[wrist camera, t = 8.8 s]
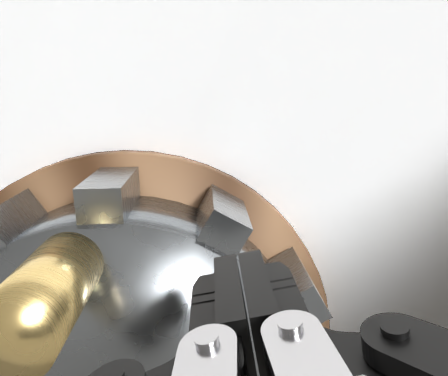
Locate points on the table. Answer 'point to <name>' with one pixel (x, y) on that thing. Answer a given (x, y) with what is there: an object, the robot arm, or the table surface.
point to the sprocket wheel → (114, 274)
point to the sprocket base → (170, 194)
